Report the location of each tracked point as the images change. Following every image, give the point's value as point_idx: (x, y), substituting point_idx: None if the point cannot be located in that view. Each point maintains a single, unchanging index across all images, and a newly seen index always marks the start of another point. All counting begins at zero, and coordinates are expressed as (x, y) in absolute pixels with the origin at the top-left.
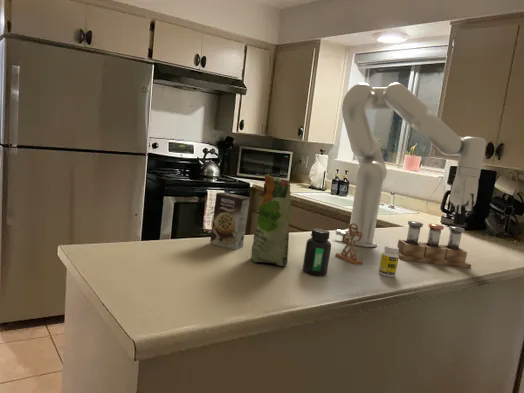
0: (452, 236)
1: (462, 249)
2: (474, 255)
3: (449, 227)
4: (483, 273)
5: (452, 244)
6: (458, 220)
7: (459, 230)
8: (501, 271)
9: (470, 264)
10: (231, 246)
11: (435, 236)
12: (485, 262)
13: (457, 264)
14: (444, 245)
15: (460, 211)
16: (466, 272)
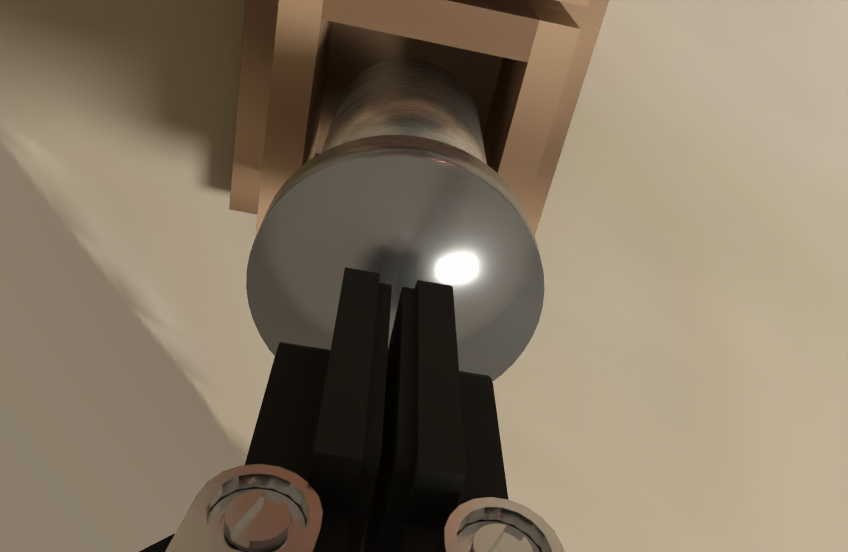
0: (358, 135)
1: None
2: (691, 538)
3: (446, 159)
4: (85, 211)
5: (347, 103)
6: (314, 365)
7: (255, 248)
8: (234, 444)
9: (236, 205)
10: None
11: None
12: None
13: (245, 58)
14: (533, 97)
15: (180, 544)
16: (30, 5)
